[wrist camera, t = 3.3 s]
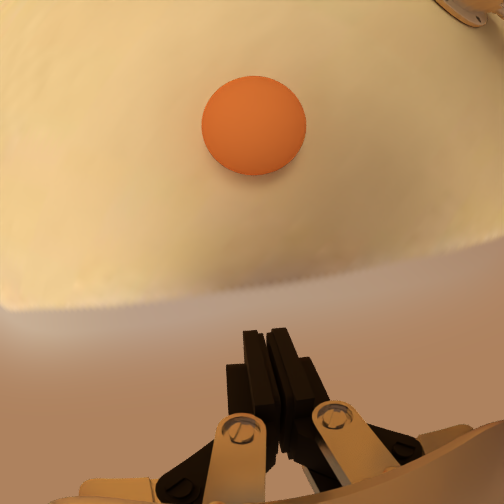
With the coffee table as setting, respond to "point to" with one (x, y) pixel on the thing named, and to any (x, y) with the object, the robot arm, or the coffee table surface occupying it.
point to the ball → (253, 125)
